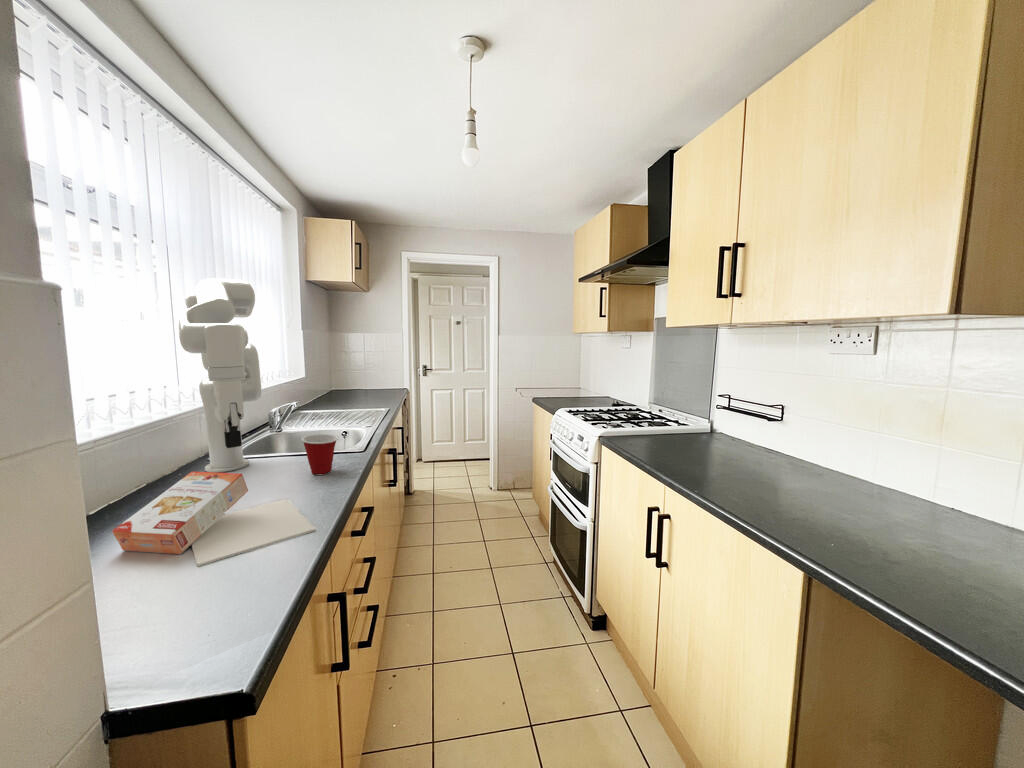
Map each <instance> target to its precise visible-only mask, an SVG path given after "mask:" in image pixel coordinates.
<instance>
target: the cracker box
mask: <svg viewBox="0 0 1024 768" xmlns="http://www.w3.org/2000/svg"><path fill="white" fill-rule="evenodd" d="M248 492H249V489H248V486H247V484H246V481H245V478H244V475H243V473H239V472H237V473H235V472H207V471H190V473H188V474H187V475H185V476H184V477H183V478H181V479H180V480H179V481H177V482H175V484H173V485H171V486H170V487H169V488H168V489H166V490H165V491H164V492H162V493H161V494H160V495H158V496H157V497H155V498H154V499H153V500H151V501H150V502H149V503H148V504H146V505H145V506H143V507H142V508H141V509H139V510H138V511H136V512H135V513H134V514H133V515H131V516H130V517H128V518H127V519H126V520H124V521H123V522H122V523H120V524H119V525H117V526H116V527H115V528H113V529H112V534H113V536H114V537H115V539H116V541H117V542H118V543H119V545H120V548H121V550H122V551H127V552H140V553H142V552H143V553H144V552H145V553H155V554H156V553H158V554H170V555H171V554H172V555H182V554H183V552H185V551H186V550H187V549H188V548H189V547H190V546H191V544H192V543H193V542H194V541H195V540H196V539H198V538H199V537H200V536H201V535H202V534H203V533H204V532H205V531H206V530H207V529H208V528H209V527H210V526H211V525H212V524H214V523H215V522H216V521H217V520H218V519H219V518H220V517H221V516H222V515H224V514H225V513H226V512H228V511H229V509H230V508H232V507H233V506H234V505H235V504H236V503H237V502H238V501H239V500H240V499H241V498H243V496H245V495H246V494H247V493H248Z"/></svg>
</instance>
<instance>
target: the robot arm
mask: <svg viewBox="0 0 1024 768" xmlns="http://www.w3.org/2000/svg"><path fill="white" fill-rule="evenodd" d="M255 294H256V293H255V291H254V288H253V286H252V285H251V284H250V283H249V282H248V281H246V280H243V279H242V280H241V279H230V278H227V279H226V278H205V279H202V280H200V281H199V282H198V283H197V285H196V288H195V289H194V290H190V291H188V292H187V293H186V294H185V298H184V300H185V304H186V308H187V309H186V310H185V311H183V312H182V314H181V316H180V318H179V321H178V336H179V342H180V345H181V347H182V348H183V350H184V351H185V352H188V353H190V354H201V355H200V356H201V363H202V365H203V366H202V367H203V368H204V370H206V371H207V375H208V376H207V377H205V378H204V379H202V380H201V381H200V383H199V386H198V387H199V395H200V398H201V400H202V401H201V402H202V406H203V409H204V416H205V425H206V426H205V427H206V434H207V436H206V437H207V446H208V453H209V454H208V456H209V464H207V465H205V466H204V472H216V473H227V472H231V471H235V470H240V469H243V468H245V467H247V466H248V465H250V460H249V459H247V458H244V452H243V449H244V448H243V442H242V441H243V440H242V428H241V427H242V426H241V420H243V419H244V417H245V415H244V413H245V411H244V403H248V402H255V401H259V399H260V398H261V396H262V380H261V379H262V378H261V369H260V368H261V367H260V359H259V353H258V350H257V348H256V346H255V345H253V344H252V343H249V336H248V331H247V330H245V328H244V326H242V325H241V324H238V323H230V322H231V321H232V320H233V319H234V318H248V317H250V316H251V315H252V313H253V310H254V307H255V305H256V304H255V302H256V295H255Z"/></svg>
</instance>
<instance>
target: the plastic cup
mask: <svg viewBox="0 0 1024 768" xmlns="http://www.w3.org/2000/svg"><path fill="white" fill-rule="evenodd" d="M338 437H339V436H337V435H334V434H329V433H319V434H318V433H317V434H310V435H309V434H308V435H306V436H305V435H304V436H303V437H301V441H302V443H303V446H304V449H305V452H306V458H307V461H308V464H309V467H310V472H311V474H312V475H313V474H325V473H328V472H330V471H332V468H333V462H334V455H335V454H334V453H335V447H336V444H337V441H338V439H339V438H338ZM330 473H331V472H330ZM328 474H329V473H328ZM325 475H326V474H325Z"/></svg>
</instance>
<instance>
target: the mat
mask: <svg viewBox="0 0 1024 768" xmlns="http://www.w3.org/2000/svg"><path fill="white" fill-rule="evenodd" d="M313 532H316V527H315V526H314V525H313V524H312V523H311V522H310V521H309V520H308V519H307V518H306V517H305V516H304V514H302V512H300V511H299V510H298V509H297V507H295V505H294V504H293V503H292V502H290V500H289V499H288V498H286V499H281V500H278V501H274V502H269V503H265V504H260V505H257V506H253V507H249V508H245V509H242V510H241V509H240V510H237V511H233V512H229V513H226V514H225V513H224V514H223V515H222V516H221V517H220V518H219V519H218V520H217V521H216V522H215V523H214V524H212V525H211V526H210V527H209V528H208V529H207V530H206V531H205V532H204V533H203V534H202V535H201V536H200V537H199V538H198V539H196V540H195V541H194V542H193V543H192V544H191V545H190V546H191V548H192V552H193V555H194V560H195V562H196V563H195V564H196V567H197V566H198V567H201V566H200V565H202V566H205V565H208V564H211V563H215V562H217V560H218V561H220V559H221V560H224V559H227V558H226V557H228V558H230V556H231V557H233V556H232V555H234V556H237V555H236V554H238V555H241V554H243V553H244V554H245V553H247V552H251V551H254V550H256V549H260V548H263V547H267V546H270V545H274V544H277V543H279V542H283V541H287V540H289V538H290V539H293V538H296V537H300V536H303V535H305V534H309V533H313ZM286 539H287V540H286ZM273 543H274V544H273ZM240 553H241V554H240ZM214 561H215V562H214ZM204 564H205V565H204Z"/></svg>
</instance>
